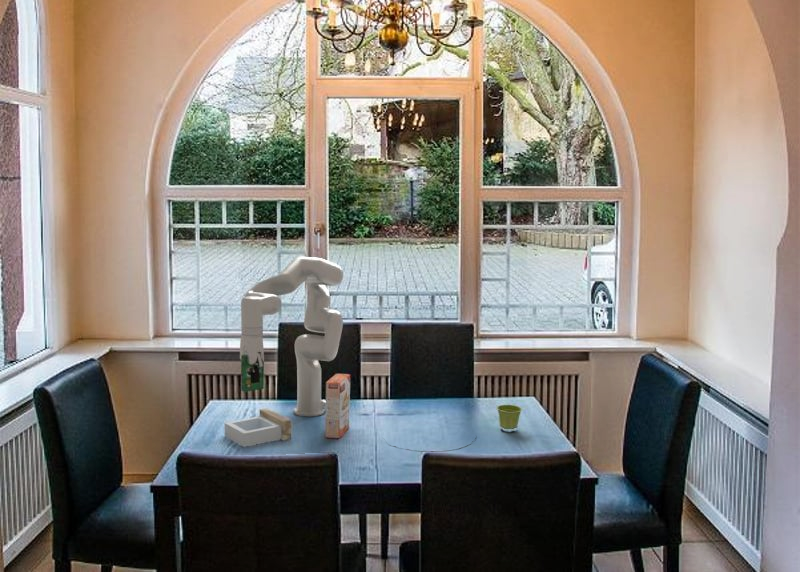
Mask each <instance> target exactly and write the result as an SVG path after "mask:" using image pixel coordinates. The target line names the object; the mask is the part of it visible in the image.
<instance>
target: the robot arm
mask: <svg viewBox="0 0 800 572" xmlns="http://www.w3.org/2000/svg"><path fill="white" fill-rule="evenodd" d="M343 278H344V272H343V269H342V268H341V266H340V265H339V264H336V263H334V262H331V261H329V260H326V259H324V258H321V257H312V256H298V257H295V259H293V260H292V261H291V262H290V263H288V265H287V266H286V267H285V268H284V269H283V270H282V271H281V272H280V273H278V274H276V275H274V276H271V277H269V278H266V279H264V280H262V281H260V282H257V283H256V284H254V285H253V286H252V287H251V288H250V289H249V290H248V291H247V292H246V293H245V295H244V297H242V298H241V300H240V314H241V315H240V317H241V318H240V319H241V321H240V325H241V336H240V343H239V359H240V361H241V355H246V356H247V363H248V364H250V365H252V372H251V383H258V382H260V368H262V367H263V364H262V363H263V361H264V362H265V353H264V352H265V351H264V339H263V335H264V329H263V328H264V322H263V321H264V316H272V315H276V314H277V313H279V312H280V310H281V309H282V305H283V303H282V300H281V298H280V297H279V296H284V295H285V296H286V295H288V294H292V293H294V292H295V291H296V290H297V289H298V288H299V287H300V286H301V285H302V284H303V283H304V282H305V285H306V286H307V291H308V300H307V305H306V310H305V314H304V318H303V320H304V321H303V327H304V328H305V329H306V330H307V331H308V332H309V331H310V332H315V333H320V334H321V333H322V334H324V335H317V334H307V333H305V334H301V335H299V336H297V337H296V339H295V341H294V353H295V358H296V368H297V369H296V376H297V377H296V378H297V379H296V381H297V384H296V385H297V386H296V387H297V389H296V393H297V395H296V397H297V398H296V399H297V400H296V402H297V403H296V404H297V405H296V407H294V408H293V410H292V411H293V414H294V415H297V416H301V417H317V416H320V415H324V414H325V413H326V399H322V368H321V364H320V362H319V361H324V362H331V361H333V360H334V359H335V358H336V356H337V354H338V350H339V346H340V341H341V337H342V332H343V331H342V330H343V326H344V318H343V316H342V313H341V312H340V311H338V310H336V309H329V306H330V301H331V296H330V292H329V291H328V288H327V286H328V287H336V286H338V285H340V283H342V281H343ZM256 362H257V363H256ZM254 365H257V366H255V368H254Z"/></svg>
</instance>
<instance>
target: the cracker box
mask: <svg viewBox="0 0 800 572" xmlns="http://www.w3.org/2000/svg"><path fill="white" fill-rule="evenodd" d="M350 394H351V374H348V373H335V374H334V375H333V376H332V377H330V378H329V379H328V380H327V381H326V382H325V401H326V405H325V417H324V418H325V419H324V420H325V421H324V423H325V426H324V428H325V429H324V435H325V436H324V437H325V438H326V439H327V438H329V439H337V438H338V439H341V437H342V436H343V435H344V434H345V433H346V431H347V430H348V429H350V413H351V412H350V410H351V409H350V407H351V405H350V404H351V403H350V402H351V401H350V400H351V397H350V396H351V395H350Z"/></svg>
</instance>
